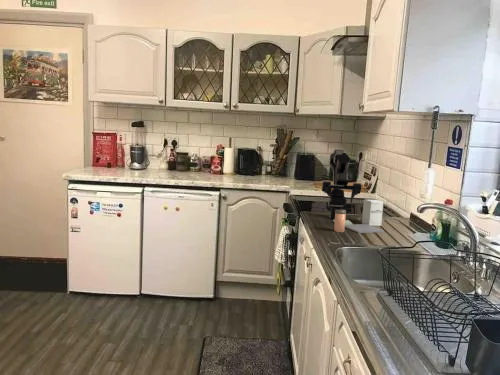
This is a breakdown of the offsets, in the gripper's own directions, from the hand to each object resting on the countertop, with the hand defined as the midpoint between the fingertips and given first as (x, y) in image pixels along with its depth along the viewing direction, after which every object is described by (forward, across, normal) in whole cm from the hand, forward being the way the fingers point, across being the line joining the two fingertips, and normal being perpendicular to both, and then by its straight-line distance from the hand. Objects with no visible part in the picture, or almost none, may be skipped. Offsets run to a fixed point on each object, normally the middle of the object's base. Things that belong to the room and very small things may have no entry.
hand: (341, 202), depth 211 cm
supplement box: (+1, +18, +20) cm, 27 cm away
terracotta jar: (+14, -1, +4) cm, 14 cm away
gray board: (+9, +11, +10) cm, 17 cm away
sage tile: (+2, +3, +18) cm, 18 cm away
